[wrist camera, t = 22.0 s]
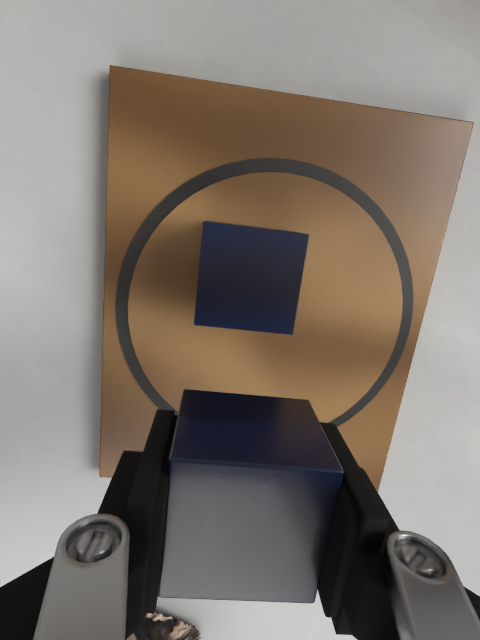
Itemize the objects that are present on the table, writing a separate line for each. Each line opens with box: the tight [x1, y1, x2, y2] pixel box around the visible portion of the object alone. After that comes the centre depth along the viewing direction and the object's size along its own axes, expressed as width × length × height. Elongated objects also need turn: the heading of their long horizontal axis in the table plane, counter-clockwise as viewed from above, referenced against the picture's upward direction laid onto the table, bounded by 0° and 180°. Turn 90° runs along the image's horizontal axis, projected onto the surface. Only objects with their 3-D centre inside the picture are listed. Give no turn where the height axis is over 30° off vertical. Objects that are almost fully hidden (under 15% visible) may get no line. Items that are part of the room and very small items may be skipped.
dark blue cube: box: [194, 220, 310, 335], centre depth 16 cm, size 4×4×4 cm
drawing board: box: [99, 65, 474, 492], centre depth 19 cm, size 20×16×1 cm
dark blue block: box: [158, 389, 344, 603], centre depth 10 cm, size 4×4×4 cm
